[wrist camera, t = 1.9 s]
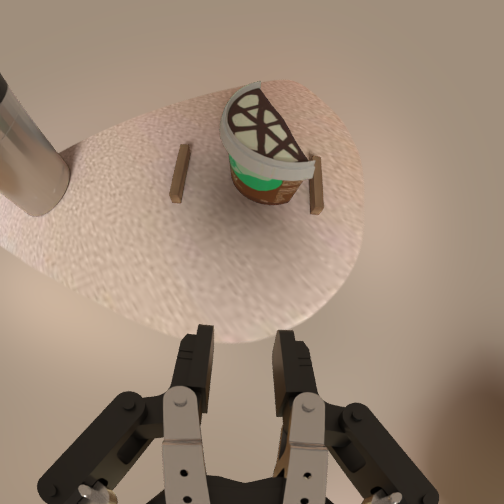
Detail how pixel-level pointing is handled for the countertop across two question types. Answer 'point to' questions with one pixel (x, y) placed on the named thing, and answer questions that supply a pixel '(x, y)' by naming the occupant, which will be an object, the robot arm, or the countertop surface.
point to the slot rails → (182, 166)
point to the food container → (261, 148)
